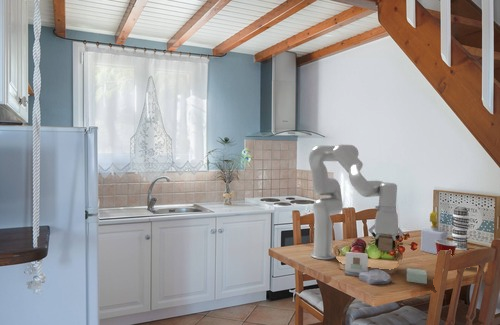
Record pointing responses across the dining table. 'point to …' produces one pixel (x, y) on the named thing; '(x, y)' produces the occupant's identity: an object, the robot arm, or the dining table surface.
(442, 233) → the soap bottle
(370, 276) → the stone block
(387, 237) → the walnut block
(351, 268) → the picture card
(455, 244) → the plastic cup
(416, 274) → the sage block
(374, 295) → the dining table surface
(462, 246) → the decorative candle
